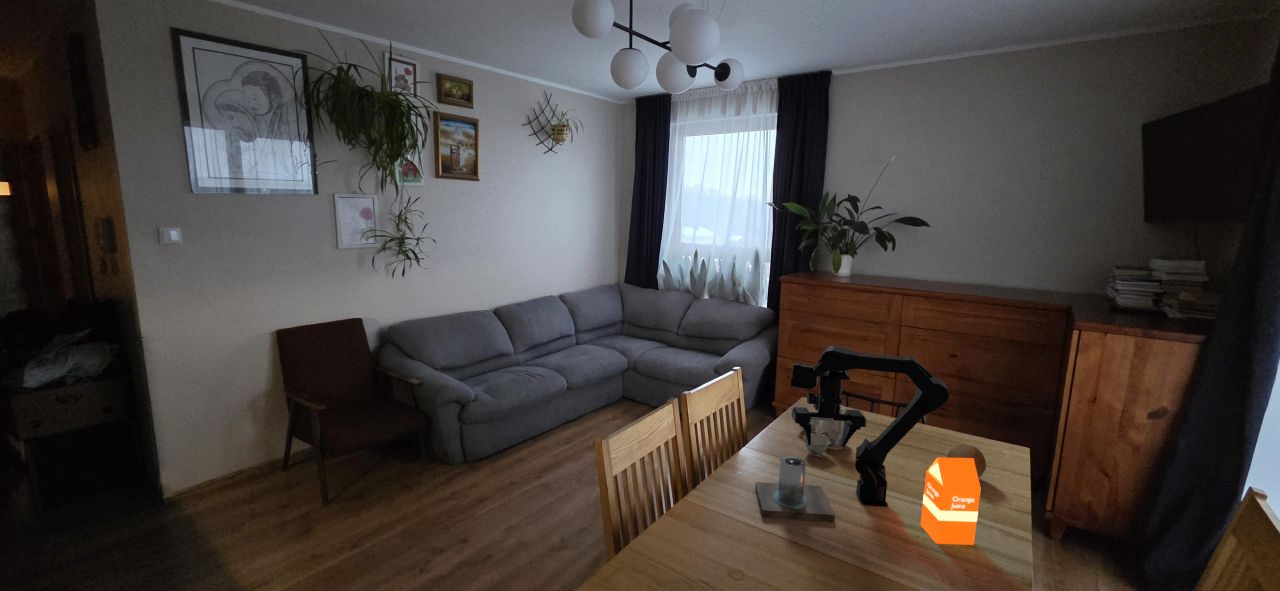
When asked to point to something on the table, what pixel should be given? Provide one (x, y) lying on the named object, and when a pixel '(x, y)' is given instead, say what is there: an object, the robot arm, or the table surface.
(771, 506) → the walnut board
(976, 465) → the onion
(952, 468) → the orange juice
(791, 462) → the silver metal cylinder
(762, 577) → the table surface
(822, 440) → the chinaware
